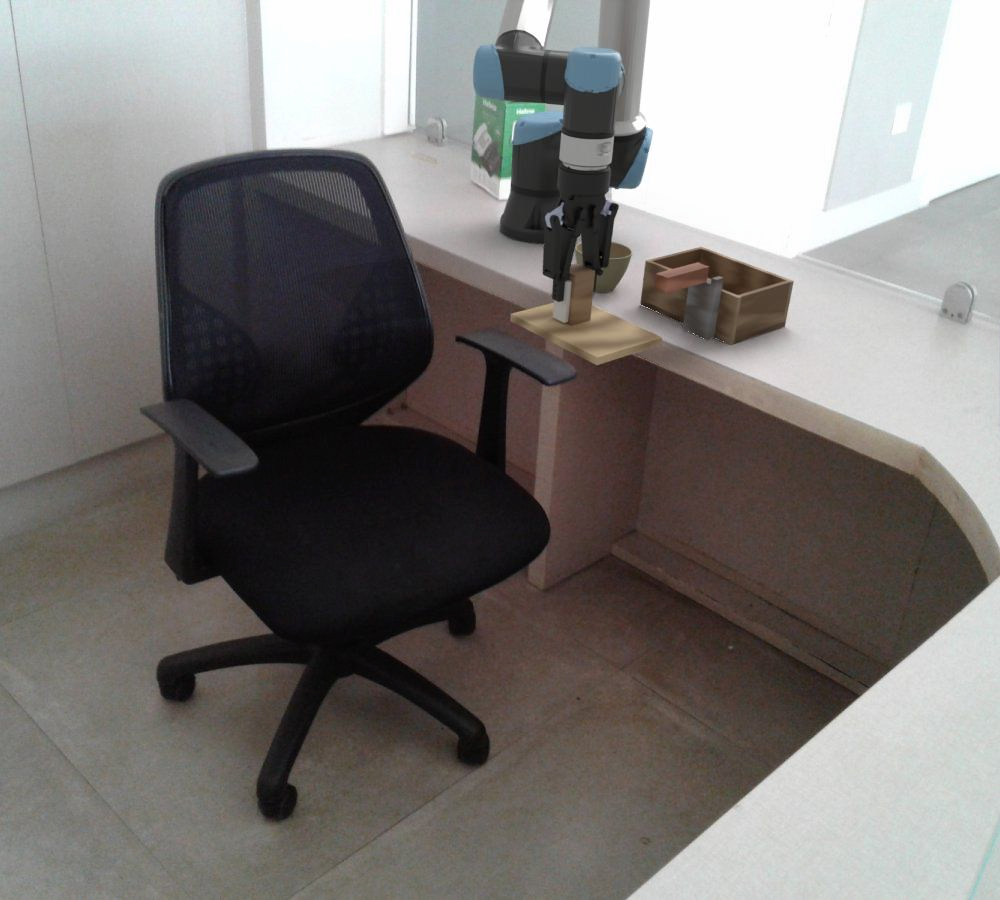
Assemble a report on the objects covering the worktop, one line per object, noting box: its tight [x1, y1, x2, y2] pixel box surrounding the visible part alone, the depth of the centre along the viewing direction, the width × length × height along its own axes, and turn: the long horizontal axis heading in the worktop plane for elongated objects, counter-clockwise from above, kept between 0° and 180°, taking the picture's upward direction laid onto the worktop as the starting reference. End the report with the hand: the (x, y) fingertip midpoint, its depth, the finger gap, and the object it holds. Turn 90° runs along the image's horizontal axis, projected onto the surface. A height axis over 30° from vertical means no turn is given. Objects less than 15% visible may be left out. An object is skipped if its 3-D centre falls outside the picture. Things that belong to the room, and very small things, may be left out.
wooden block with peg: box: [510, 262, 663, 366], centre depth 158 cm, size 19×13×9 cm
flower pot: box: [574, 241, 633, 293], centre depth 185 cm, size 10×10×7 cm
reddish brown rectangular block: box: [654, 262, 709, 294], centre depth 162 cm, size 2×10×2 cm, turn 129°
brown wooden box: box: [640, 246, 795, 346], centre depth 174 cm, size 20×16×10 cm
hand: (571, 316), depth 161 cm, fingers closed on wooden block with peg, 4 cm apart
